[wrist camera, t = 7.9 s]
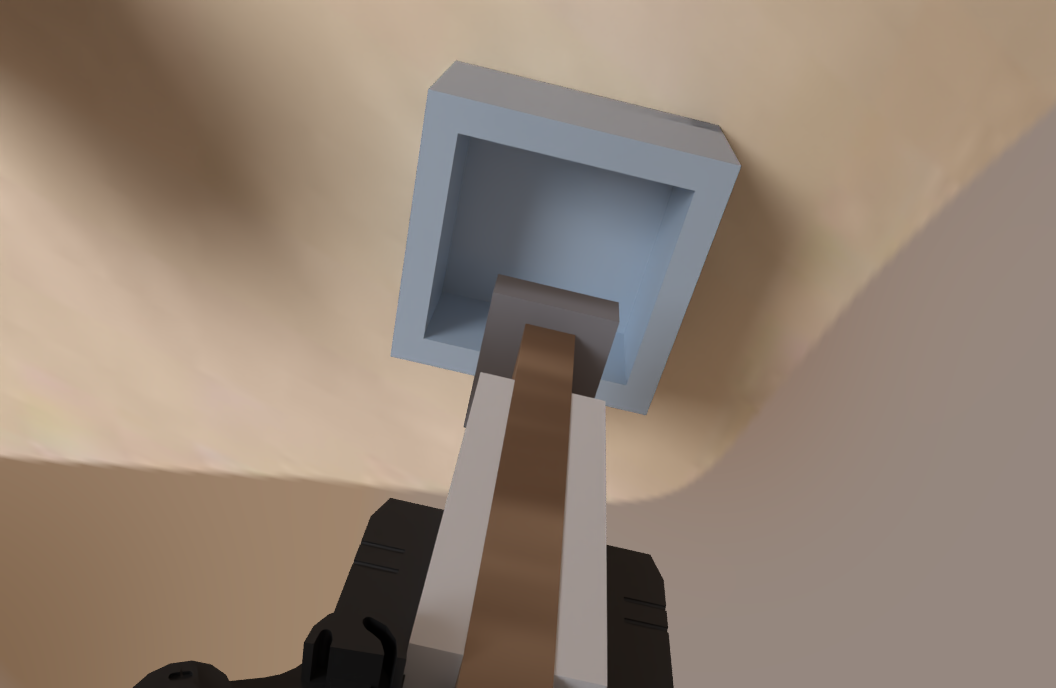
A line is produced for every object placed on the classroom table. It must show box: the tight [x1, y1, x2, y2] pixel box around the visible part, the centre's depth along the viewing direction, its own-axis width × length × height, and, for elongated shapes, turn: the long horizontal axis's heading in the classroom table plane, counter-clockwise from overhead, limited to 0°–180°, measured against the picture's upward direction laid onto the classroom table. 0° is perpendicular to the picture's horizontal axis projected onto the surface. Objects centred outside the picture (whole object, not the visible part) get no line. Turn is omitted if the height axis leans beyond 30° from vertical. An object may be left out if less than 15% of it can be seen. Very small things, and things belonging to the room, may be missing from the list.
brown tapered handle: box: [455, 274, 620, 688], centre depth 13 cm, size 4×3×13 cm
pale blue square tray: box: [391, 61, 741, 415], centre depth 25 cm, size 9×9×4 cm
